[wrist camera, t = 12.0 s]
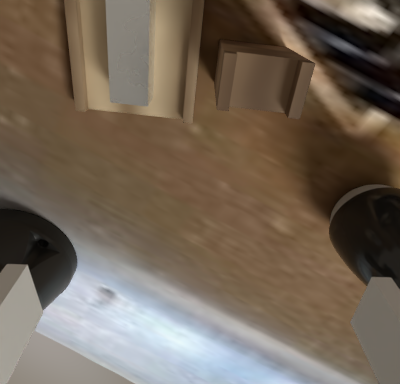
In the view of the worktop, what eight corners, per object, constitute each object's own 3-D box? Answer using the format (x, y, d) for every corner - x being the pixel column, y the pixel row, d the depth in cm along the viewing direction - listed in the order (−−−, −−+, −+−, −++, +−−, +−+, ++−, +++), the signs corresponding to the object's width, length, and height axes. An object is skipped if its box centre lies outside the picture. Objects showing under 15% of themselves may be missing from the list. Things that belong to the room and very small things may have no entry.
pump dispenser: (301, 213, 39) (347, 316, 27) (370, 155, 35) (466, 244, 22) (351, 251, 43) (414, 360, 30) (420, 202, 38) (530, 304, 25)
